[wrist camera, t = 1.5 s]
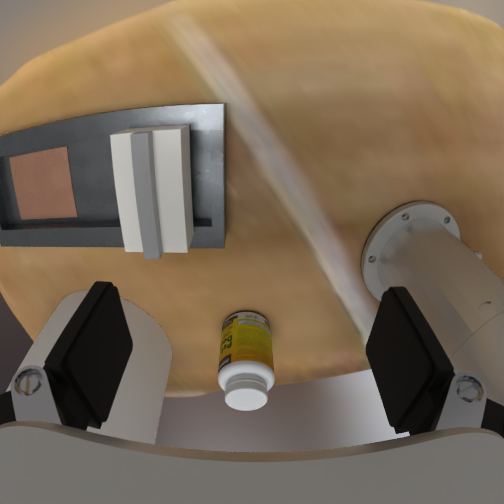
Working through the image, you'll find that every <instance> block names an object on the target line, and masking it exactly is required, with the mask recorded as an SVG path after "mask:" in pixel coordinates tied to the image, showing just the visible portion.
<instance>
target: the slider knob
mask: <svg viewBox="0 0 504 504" xmlns="http://www.w3.org/2000/svg"><path fill="white" fill-rule="evenodd" d="M110 139H111V151H112V162H113V172H114V180H115V189H116V196H117V203H118V210H119V217H120V223H121V229H122V235H123V241H124V246H125V252H143V253H144V259H160V258H161V256H162V253H163V252H178V253H188V250H189V247H190V244H191V241H192V238H193V235H194V227H193V211H192V191H191V168H190V133H189V124H188V125H169V126H154V127H142V128H132V129H125V130H123V131H120V132H117V133H114V134H112V135H110Z"/></svg>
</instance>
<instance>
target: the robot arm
mask: <svg viewBox="0 0 504 504" xmlns="http://www.w3.org/2000/svg"><path fill="white" fill-rule="evenodd" d="M460 240H461V238H460V231H459V228H458V225H457V222H456V221H455V219H454V217H453V216H452V215H451V214H450V213H449V212H448V211H447V210H446V209H444V208H443V207H441V206H440V205H438V204H435V203H432V202H427V201H418V202H411V203H408V204H405V205H402V206H401V207H399V208H397V209H395V210H393V211H392V212H391V213H389V214H388V215H387V216H386V217H384V218H383V219H382V220H381V222H380V223H379V224H378V225H377V226H376V227H375V229H374V230H373V232H372V233H371V235H370V236H369V238H368V240H367V243H366V245H365V247H364V251H363V254H362V261H361V271H362V277H363V280H364V282H365V285H366V286H367V288H368V290H369V292H370V293H371V294H372V295H373V296H374V297H375V298H376V299H378V300H379V301H381V302H380V305H379V309H378V312H377V315H376V318H375V321H374V324H373V327H372V330H371V333H370V336H369V339H368V341H367V344H366V355H367V358H368V360H369V363H370V366H371V369H372V372H373V375H374V378H375V381H376V384H377V387H378V390H379V393H380V396H381V399H382V402H383V406H384V409H385V412H386V415H387V418H388V421H389V424H390V426H391V427H394V429H395V432H396V434H399V433H404V432H408V431H409V434H410V436H407V437H403V438H397V439H392V440H387V441H381V442H375V443H369V444H363V445H356V446H350V447H341V448H332V449H322V450H310V451H292V452H225V451H209V450H196V449H186V448H177V447H169V446H161V445H154V444H148V443H142V442H136V441H131V440H126V439H121V438H116V437H111V436H106V435H102V434H97V433H93V432H89V431H86V430H87V427H88V426H89V427H92V428H96V429H101V426H102V423H103V422H106V421H107V419H108V417H109V414H110V411H111V408H112V405H113V402H114V399H115V396H116V393H117V390H118V388H119V385H120V382H121V379H122V377H123V374H124V371H125V368H126V366H127V363H128V360H129V358H130V355H131V353H132V350H133V340H132V337H131V334H130V331H129V327H128V324H127V321H126V317H125V314H124V310H123V307H122V303H121V300H120V296H119V292H118V289H117V287H116V286H113V284H112V283H111V282H102V281H97V282H95V283H94V284H93V286H92V287H91V289H90V290H89V292H88V293H87V295H86V296H85V298H84V299H83V301H82V302H81V303H80V305H79V306H78V308H77V310H76V311H75V313H74V314H73V316H72V317H71V319H70V320H69V322H68V323H67V325H66V327H65V328H64V330H63V331H62V333H61V335H60V336H59V338H58V339H57V341H56V343H55V344H54V346H53V348H52V349H51V351H50V353H49V355H48V356H47V358H46V360H45V361H44V362H45V365H44V366H43V368H41V367H39V366H37V365H29V366H25V367H23V368H21V369H20V370H19V371H18V372H16V374H15V375H14V377H13V378H12V381H11V390H10V391H8V392H5V393H3V394H1V395H0V504H504V282H503V281H502V280H501V279H500V278H499V277H498V276H497V275H496V274H495V273H494V272H493V271H492V270H491V269H490V268H489V267H488V266H487V265H486V264H485V263H484V262H483V261H482V254H481V252H479V251H471V250H470V249H469V248H468V247H467V246H466V245H465V244H464V243H462V242H461V241H460Z"/></svg>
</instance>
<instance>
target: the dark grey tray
mask: <svg viewBox="0 0 504 504" xmlns="http://www.w3.org/2000/svg"><path fill="white" fill-rule="evenodd" d="M188 124H189V133H190V168H191V191H192V211H193V227H194V235H193V238H192V241H191V244H190V247H189V248H225V240H226V103H203V104H181V105H166V106H154V107H144V108H135V109H126V110H119V111H112V112H105V113H98V114H92V115H87V116H81V117H76V118H71V119H66V120H61V121H56V122H52V123H47V124H43V125H39V126H35V127H31V128H27V129H23V130H20V131H16V132H13V133H9V134H6V135H3V136H0V244H1V246H20V247H125V246H124V241H123V235H122V229H121V223H120V217H119V210H118V203H117V196H116V189H115V180H114V172H113V162H112V151H111V139H110V135H112V134H114V133H117V132H120V131H123V130H125V129H132V128H142V127H154V126H169V125H188Z"/></svg>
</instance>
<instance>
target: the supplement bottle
mask: <svg viewBox="0 0 504 504" xmlns="http://www.w3.org/2000/svg"><path fill="white" fill-rule="evenodd" d="M274 379H275V378H274V365H273V354H272V341H271V331H270V326H269V323H268V322H267V320H266V319H265V318H264V317H262V316H261V315H259V314H256V313H253V312H240V313H236V314H234V315H232V316H230V317H229V318H228V319H227V320H226V321H225V322H224V324H223V327H222V335H221V346H220V358H219V370H218V382H219V385H220V386H221V388H222V389H223V390H224V391H225V401H226V403H227V404H228V405H229V406H230V407H232V408H234V409H238V410H255V409H258V408H260V407H262V406H264V405H265V404H266V402H267V392H268V390H269V389H270V388H271V387H272V386H273V384H274Z"/></svg>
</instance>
